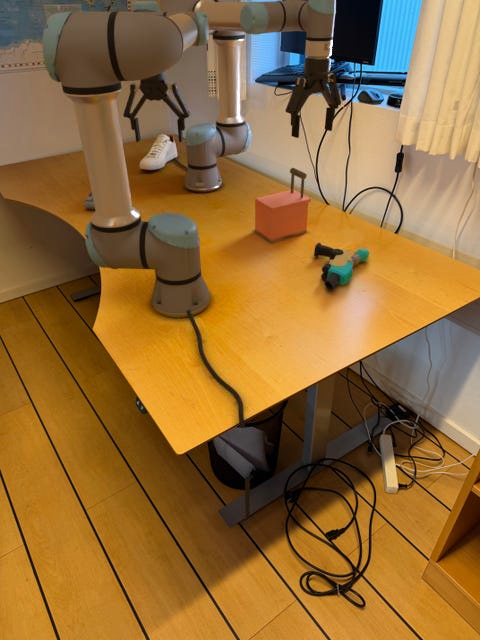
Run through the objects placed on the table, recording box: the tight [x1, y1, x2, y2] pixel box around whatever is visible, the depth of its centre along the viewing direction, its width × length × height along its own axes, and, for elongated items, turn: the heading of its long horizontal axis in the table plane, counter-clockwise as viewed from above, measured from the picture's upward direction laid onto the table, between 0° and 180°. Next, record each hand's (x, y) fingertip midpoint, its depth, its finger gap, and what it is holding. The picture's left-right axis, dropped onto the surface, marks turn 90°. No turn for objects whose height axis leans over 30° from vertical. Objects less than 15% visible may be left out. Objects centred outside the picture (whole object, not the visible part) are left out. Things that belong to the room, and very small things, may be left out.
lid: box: [254, 167, 312, 211], centre depth 151 cm, size 15×10×9 cm, turn 120°
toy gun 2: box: [313, 242, 370, 292], centre depth 136 cm, size 4×26×15 cm
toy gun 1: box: [82, 191, 95, 210], centre depth 178 cm, size 4×19×15 cm
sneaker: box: [139, 133, 179, 171], centre depth 214 cm, size 10×29×12 cm, turn 163°
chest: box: [254, 201, 309, 243], centre depth 156 cm, size 14×10×10 cm
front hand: (159, 141), depth 150 cm, fingers open, 13 cm apart
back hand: (312, 133), depth 150 cm, fingers open, 13 cm apart
